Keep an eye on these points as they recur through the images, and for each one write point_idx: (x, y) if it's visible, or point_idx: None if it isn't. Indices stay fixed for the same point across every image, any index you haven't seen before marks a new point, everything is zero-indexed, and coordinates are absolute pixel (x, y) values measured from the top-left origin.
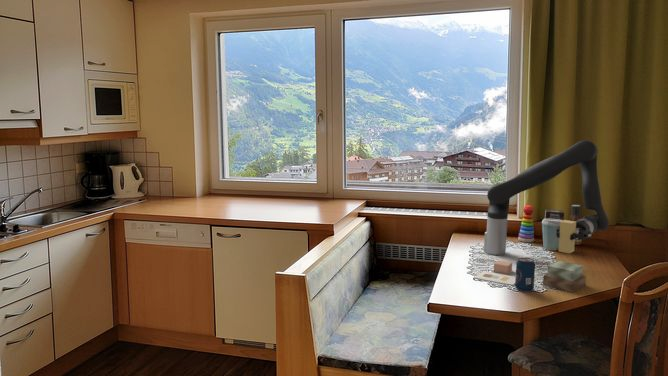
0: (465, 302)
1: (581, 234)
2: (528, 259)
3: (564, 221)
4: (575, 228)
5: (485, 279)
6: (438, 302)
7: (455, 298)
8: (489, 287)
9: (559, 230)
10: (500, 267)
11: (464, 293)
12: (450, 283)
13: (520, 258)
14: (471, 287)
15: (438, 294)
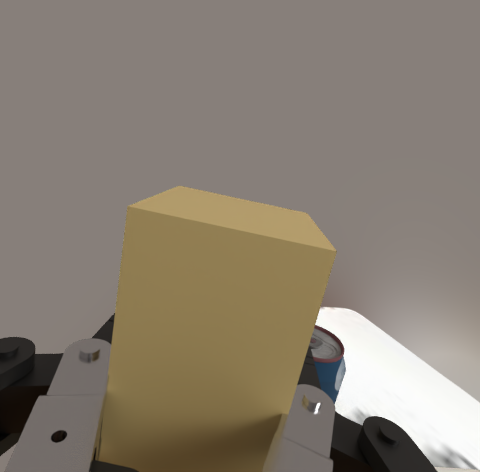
0: (319, 318)
1: (23, 350)
2: (314, 356)
3: (281, 215)
4: (120, 311)
5: (439, 468)
6: (347, 309)
7: (346, 327)
8: (364, 408)
9: (361, 449)
10: None
11: (360, 350)
12: (444, 392)
13: (341, 352)
14: (389, 388)
15: (382, 332)
